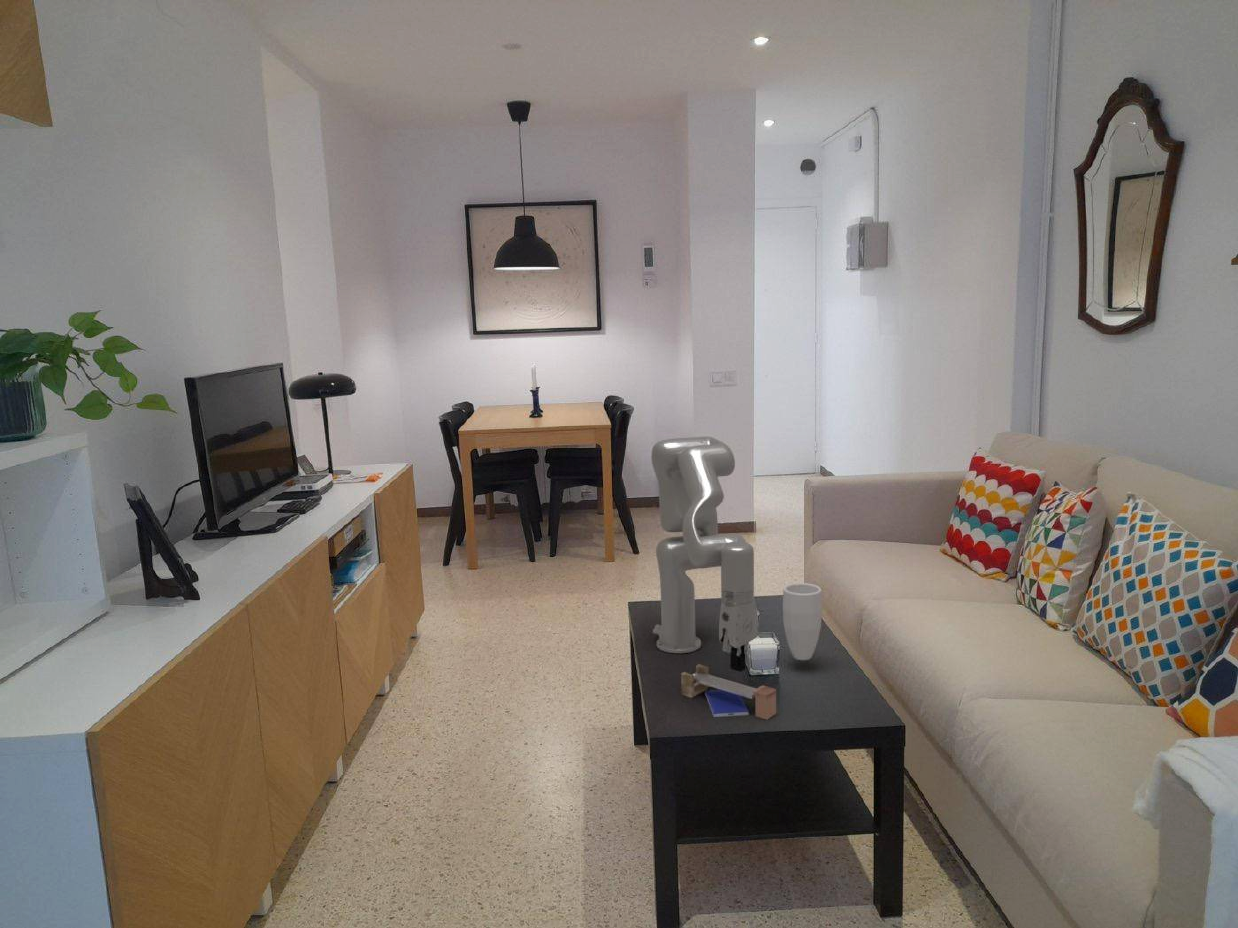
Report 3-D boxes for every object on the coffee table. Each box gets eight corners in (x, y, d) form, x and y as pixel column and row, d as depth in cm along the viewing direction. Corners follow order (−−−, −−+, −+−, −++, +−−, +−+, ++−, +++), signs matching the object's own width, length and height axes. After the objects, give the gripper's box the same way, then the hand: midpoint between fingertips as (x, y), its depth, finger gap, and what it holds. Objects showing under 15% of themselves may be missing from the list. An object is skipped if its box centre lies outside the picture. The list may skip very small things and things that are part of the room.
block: (753, 715, 193) (753, 690, 192) (763, 709, 196) (762, 685, 195) (766, 719, 190) (766, 695, 189) (776, 713, 193) (776, 689, 192)
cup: (773, 667, 219) (773, 588, 216) (797, 656, 226) (797, 579, 223) (807, 678, 212) (807, 597, 208) (830, 666, 218) (831, 587, 215)
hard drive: (705, 689, 205) (713, 712, 193) (737, 687, 205) (748, 710, 193) (705, 696, 205) (713, 719, 193) (737, 693, 206) (748, 716, 193)
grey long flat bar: (688, 680, 205) (687, 675, 205) (697, 675, 208) (697, 669, 208) (751, 700, 193) (751, 694, 192) (761, 694, 195) (761, 688, 195)
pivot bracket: (681, 694, 205) (681, 673, 204) (699, 684, 210) (699, 664, 209) (691, 697, 203) (690, 676, 202) (709, 687, 208) (708, 667, 207)
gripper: (732, 607, 186) (732, 684, 189) (768, 590, 196) (768, 663, 200) (705, 600, 191) (706, 675, 194) (742, 583, 202) (742, 655, 205)
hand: (737, 669), depth 197 cm, fingers closed
